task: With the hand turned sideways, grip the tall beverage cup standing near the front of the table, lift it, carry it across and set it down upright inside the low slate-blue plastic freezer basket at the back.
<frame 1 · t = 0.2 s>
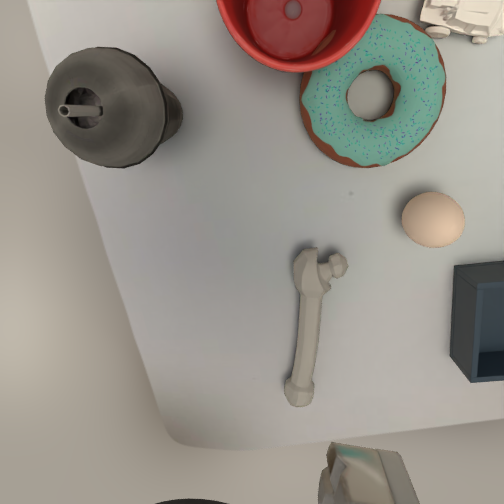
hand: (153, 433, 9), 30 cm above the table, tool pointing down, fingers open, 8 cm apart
flower pot: (290, 14, 33), on the table, touching donut
toy car: (462, 10, 32), on the table
beverage cup: (158, 113, 36), on the table
donut: (364, 97, 35), on the table, touching flower pot
egg: (417, 211, 38), on the table
bone: (303, 321, 42), on the table
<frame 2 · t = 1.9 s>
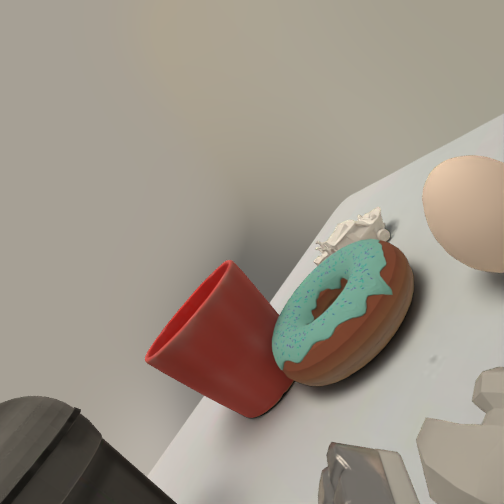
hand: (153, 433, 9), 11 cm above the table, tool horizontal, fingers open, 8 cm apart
flower pot: (276, 379, 33), on the table, touching donut
toy car: (367, 254, 36), on the table
donut: (359, 327, 28), on the table, touching flower pot
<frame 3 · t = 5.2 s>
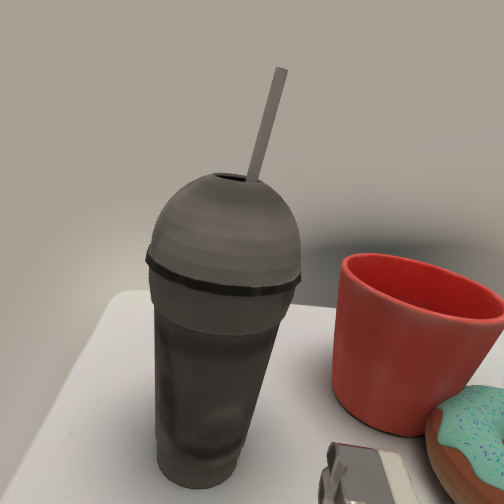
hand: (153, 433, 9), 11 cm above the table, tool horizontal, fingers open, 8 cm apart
flower pot: (382, 400, 29), on the table, touching donut
beverage cup: (197, 455, 22), on the table
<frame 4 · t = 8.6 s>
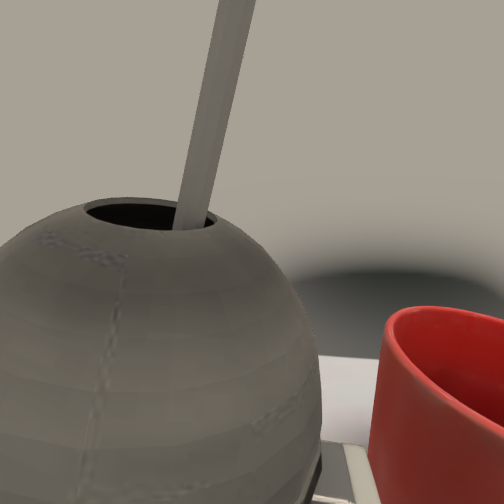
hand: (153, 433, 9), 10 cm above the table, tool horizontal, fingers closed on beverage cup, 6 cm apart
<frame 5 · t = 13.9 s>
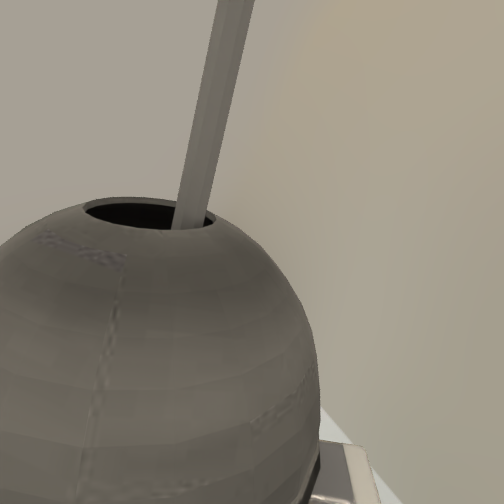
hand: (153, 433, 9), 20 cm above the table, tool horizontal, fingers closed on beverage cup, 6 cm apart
when the fingers open (11 cm above the table, at t = 19.6 s): beverage cup stays where it is, resting on freezer basket.
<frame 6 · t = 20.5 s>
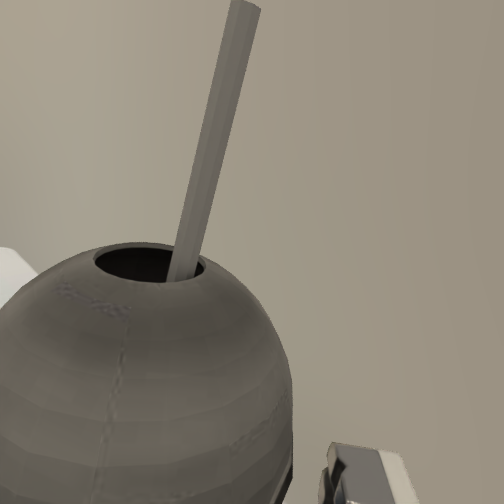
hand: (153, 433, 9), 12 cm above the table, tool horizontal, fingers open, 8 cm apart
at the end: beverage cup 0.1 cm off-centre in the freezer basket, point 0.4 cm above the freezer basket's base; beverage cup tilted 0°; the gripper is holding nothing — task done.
